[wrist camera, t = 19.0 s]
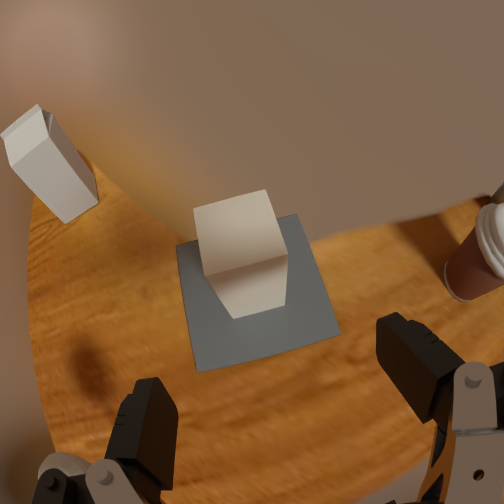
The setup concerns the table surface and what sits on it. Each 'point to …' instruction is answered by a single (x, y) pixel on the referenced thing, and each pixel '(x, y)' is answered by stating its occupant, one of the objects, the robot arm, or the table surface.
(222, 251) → the block
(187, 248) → the mat
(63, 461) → the lollipop
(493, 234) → the coffee cup
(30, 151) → the milk carton
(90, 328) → the table surface
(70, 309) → the table surface
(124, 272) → the table surface
